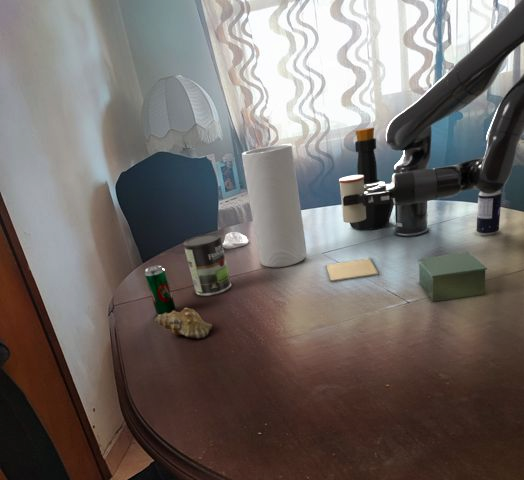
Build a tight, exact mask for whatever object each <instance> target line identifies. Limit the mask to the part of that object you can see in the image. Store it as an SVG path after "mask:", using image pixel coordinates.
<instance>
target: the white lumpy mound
mask: <svg viewBox="0 0 524 480" xmlns="http://www.w3.org/2000/svg"><path fill="white" fill-rule="evenodd" d="M248 243H249V239H248V237H247V236H246V235H243V234H242V233H241V232H238V231H231V232H228V233H226V234H225V236H224V240H223V242H222V245H223V249H234V248H235V249H236V248H240V247H244V246H246V245H248Z"/></svg>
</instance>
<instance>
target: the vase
mask: <svg viewBox="0 0 524 480" xmlns="http://www.w3.org/2000/svg"><path fill="white" fill-rule="evenodd" d="M241 158H242V164H243V165H242V166H243V170H244V176H245V183H246V190H247V195H248V200H249V201H248V202H249V206H250V213H251V219H252V224H253V231H254V236H255V242H256V247H257V248H256V249H257V254H258V257H259V261H260V264H261V265H263V266H264V267H266V268H273V269H274V268H276V269H277V268H286V267H289V266H293V265H297V264H299V263H301V262H303V260H305V258H306V257H307V245H306V237H305V230H304V229H305V228H304V222H303V216H302V215H303V214H302V207H301V200H300V193H299V184H298V178H297V171H296V170H297V169H296V164H295V157H294V149H293V144H292V143H281V144H272V145H268V146H262V147H258V148H254V149H250V150H247V151H243V152H242V153H241Z"/></svg>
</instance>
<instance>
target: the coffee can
mask: <svg viewBox="0 0 524 480" xmlns="http://www.w3.org/2000/svg"><path fill="white" fill-rule="evenodd" d="M222 244H223V241H222V235H221V234H219V233H206V234H200V235H196V236H192V237H190V238H188V239H186V240H184V241H183V242H182V247H183V248H184V251H185V252H184V253H185V256H186V260H187V264H188V268H189V272H190V274H191V279H192V283H193V287H194V292H195V294H196V295H198V296H200V297H201V296H202V297H207V296H214V295H215V296H216V295H219V294H222V293H225V292H226V291H228V290H229V289H230V288H231V287H232V283H231V278H230V275H229V270H228V264H227V260H226V254H225V250H224V247H223V245H222Z"/></svg>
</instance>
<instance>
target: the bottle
mask: <svg viewBox="0 0 524 480" xmlns="http://www.w3.org/2000/svg"><path fill="white" fill-rule="evenodd" d="M374 135H375V127H371V126H370V127H364V128H359V129H356V130H355V136H356V141H355V142H354V145H355V148H354V149H355V152H356V153H357V164H356V165H357V167H356V168H357V175H364V185H366V184H371V183H376V182H380V181H381V182H383V181H382V180H380V179H378V169H377V167H378V166H377V165H378V164H377V160H376V153H375V150H376V149H377V138H376V137H374ZM384 184H387V183H386V182H384ZM364 192H366V191H365V190H364ZM389 201H390V202H389V203H388V204H386V203H385V204H377V205H368V206H365V207H366V219H365V220H363V221H359V222H354V223H349V225H350V227H351V228H352V229H354V230H358V231H368V230H369V231H370V230H377V229H380V228H384V227H387V225H388V223H389V222H390V219H391V216H392V214H393V213H392V212H393V210H394V208H395V205H394V203H393V198H392V199H389Z"/></svg>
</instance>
